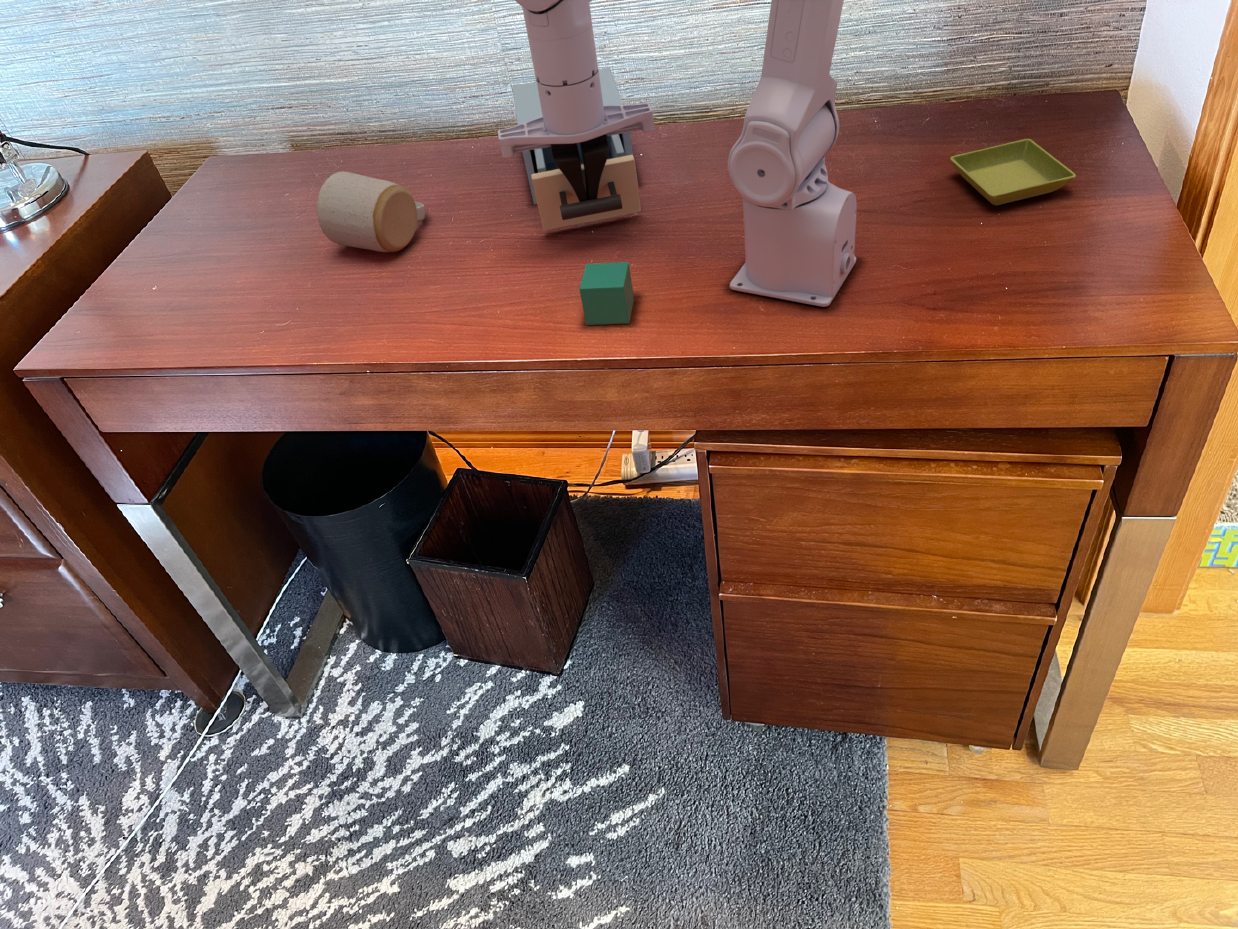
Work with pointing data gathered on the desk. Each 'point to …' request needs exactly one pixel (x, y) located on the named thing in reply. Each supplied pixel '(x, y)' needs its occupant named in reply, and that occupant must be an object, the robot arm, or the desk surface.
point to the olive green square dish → (1012, 171)
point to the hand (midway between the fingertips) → (588, 209)
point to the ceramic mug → (367, 212)
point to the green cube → (607, 293)
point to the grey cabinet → (531, 109)
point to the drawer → (562, 201)
